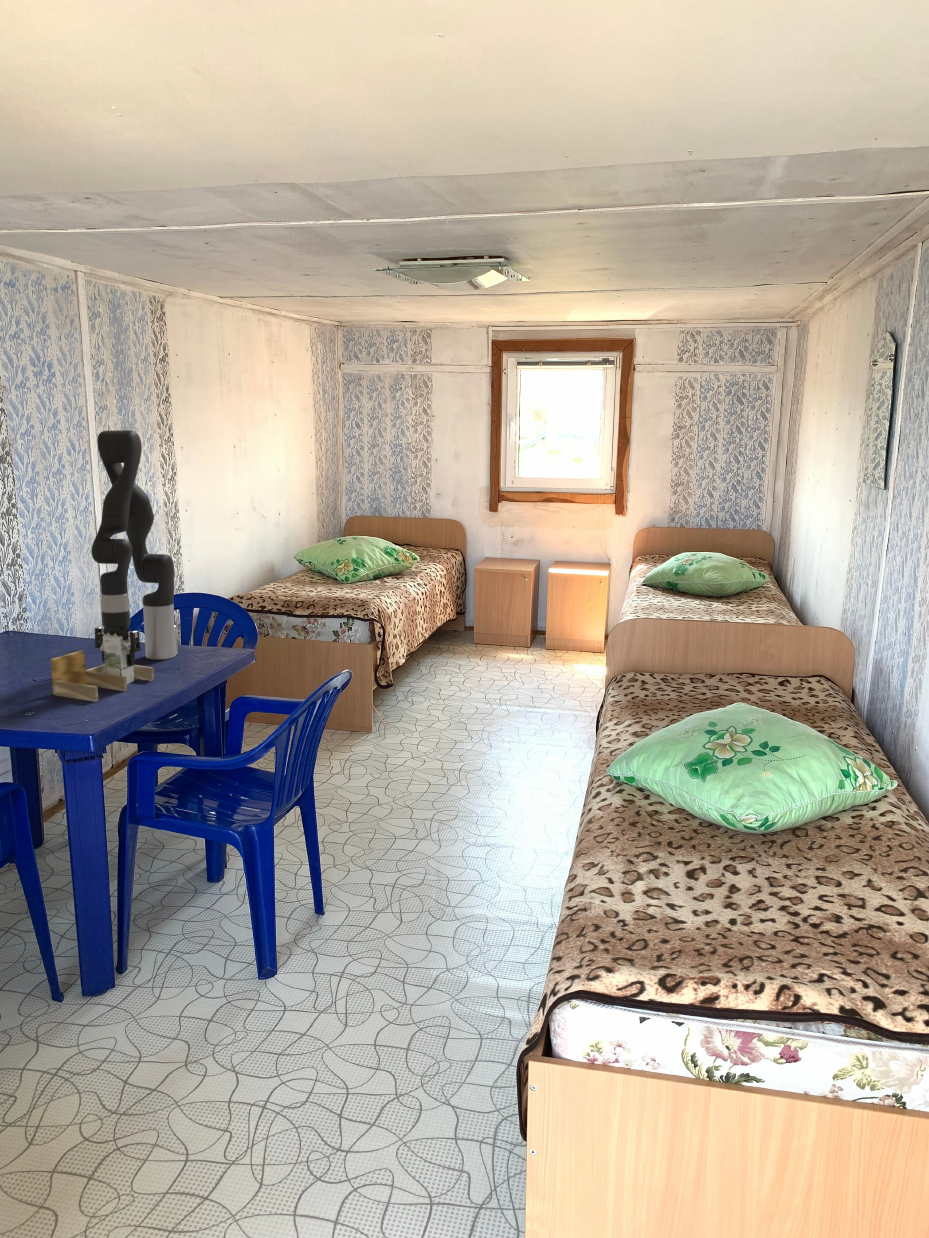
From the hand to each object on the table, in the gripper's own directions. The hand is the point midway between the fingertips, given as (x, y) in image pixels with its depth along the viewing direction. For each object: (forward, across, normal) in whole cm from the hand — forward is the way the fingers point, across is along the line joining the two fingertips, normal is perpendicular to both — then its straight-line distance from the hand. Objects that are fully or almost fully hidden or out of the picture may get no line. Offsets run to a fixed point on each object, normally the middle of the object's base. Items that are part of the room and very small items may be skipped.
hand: (118, 664), depth 254 cm
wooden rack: (+6, 0, +5) cm, 8 cm away
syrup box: (+6, 0, 0) cm, 6 cm away
